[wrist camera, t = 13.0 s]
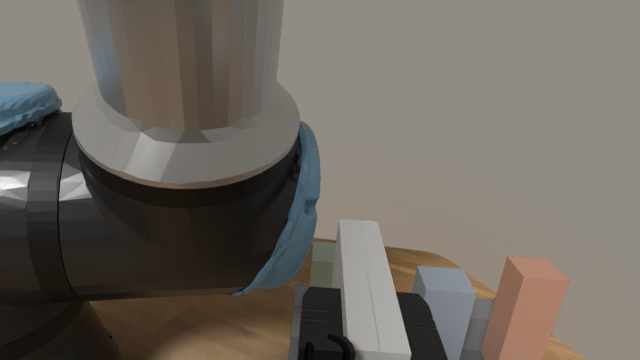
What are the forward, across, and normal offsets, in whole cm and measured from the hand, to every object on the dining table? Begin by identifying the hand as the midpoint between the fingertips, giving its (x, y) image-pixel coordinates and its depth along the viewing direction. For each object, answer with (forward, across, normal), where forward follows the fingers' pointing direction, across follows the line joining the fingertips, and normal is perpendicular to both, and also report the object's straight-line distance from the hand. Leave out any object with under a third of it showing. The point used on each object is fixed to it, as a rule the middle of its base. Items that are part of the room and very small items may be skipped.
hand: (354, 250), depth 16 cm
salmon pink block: (+13, +17, -19) cm, 28 cm away
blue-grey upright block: (+11, +8, -19) cm, 23 cm away
